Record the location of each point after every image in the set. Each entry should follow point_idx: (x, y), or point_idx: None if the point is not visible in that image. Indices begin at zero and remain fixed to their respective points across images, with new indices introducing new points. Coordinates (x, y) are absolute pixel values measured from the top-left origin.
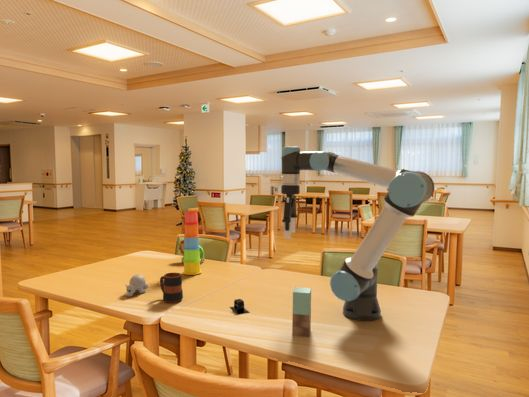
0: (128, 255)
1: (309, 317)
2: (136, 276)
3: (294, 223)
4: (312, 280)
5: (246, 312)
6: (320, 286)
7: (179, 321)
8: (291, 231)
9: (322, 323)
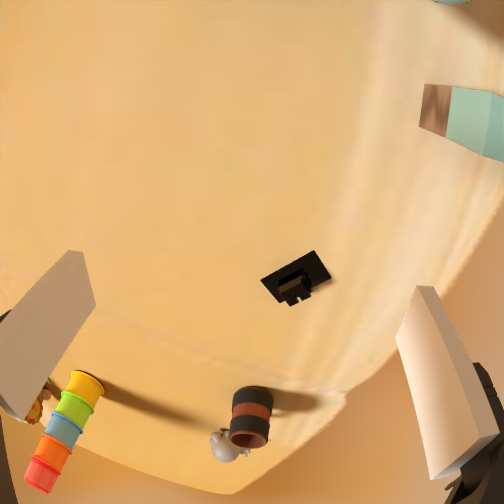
0: None
1: None
2: (229, 460)
3: (26, 324)
4: (9, 114)
5: (314, 259)
6: (44, 77)
7: (367, 365)
8: (85, 292)
9: (374, 43)
